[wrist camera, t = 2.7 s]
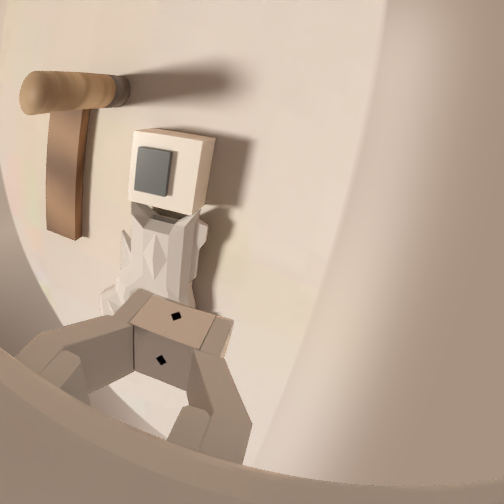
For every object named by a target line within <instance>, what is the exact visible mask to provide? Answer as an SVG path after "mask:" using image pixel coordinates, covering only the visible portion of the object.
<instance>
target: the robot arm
mask: <svg viewBox="0 0 504 504" xmlns="http://www.w3.org/2000/svg"><path fill="white" fill-rule="evenodd" d="M233 324H234V320H232V319H229V318H225V317H222V316H218V315H214V314H210V313H207V312H204V311H201V310H198V309H195V308H192V307H189V306H186V305H184V304H181V303H179V302H176V301H173V300H171V299H168V298H166V297H163V296H160V295H158V294H154V293H152V292H150V291H147V290H144V289H142V288H140V289H137V290H136V291H135V292H134V293H133V294H132V295H131V297H130V298H129V299H128V300H127V301H126V302H125V303H124V304H123V305H122V306H121V307H120V308H119V309H118V310H117V311H116V313H115V314H114V315H113V316H110V315H104V316H101V317H97V318H93V319H90V320H86V321H82V322H78V323H75V324H71V325H67V326H63V327H60V328H56V329H52V330H48V331H44V332H41V333H39V334H38V335H37V336H36V337H35V338H34V339H32V341H30V342H29V343H28V344H27V345H26V346H25V347H24V348H23V349H22V350H21V351H20V352H19V353H18V354H17V355H16V356H15V357H14V358H13V357H12V356H10V355H9V354H8V353H7V352H5V351H4V350H3V349H1V348H0V504H504V477H502V478H497V479H491V480H484V481H477V482H471V483H470V482H469V483H461V484H449V485H434V486H374V485H359V484H347V483H337V482H328V481H321V480H314V479H307V478H301V477H295V476H290V475H285V474H280V473H275V472H270V471H265V470H261V469H257V468H253V467H249V466H245V465H242V463H243V460H244V456H245V452H246V448H247V444H248V440H249V436H250V432H251V427H252V422H251V420H250V418H249V415H248V413H247V411H246V409H245V406H244V404H243V402H242V399H241V397H240V395H239V392H238V390H237V388H236V385H235V383H234V381H233V378H232V376H231V373H230V371H229V369H228V366H227V364H226V361H225V359H224V357H225V353H226V350H227V346H228V343H229V339H230V335H231V332H232V328H233ZM134 371H137V372H139V373H142V374H145V375H147V376H150V377H152V378H155V379H158V380H160V381H163V382H165V383H167V384H170V385H172V386H175V387H177V388H180V389H182V390H185V391H187V392H186V393H187V397H188V402H189V405H188V406H185V407H182V409H181V411H180V413H179V416H178V418H177V420H176V422H175V424H174V426H173V428H172V430H171V432H170V434H169V436H168V438H167V440H164V439H161V438H159V437H156V436H154V435H151V434H149V433H147V432H144V431H142V430H139V429H137V428H135V427H133V426H131V425H128V424H126V423H124V422H122V421H120V420H118V419H116V418H114V417H111V416H110V415H107V414H105V413H103V412H101V411H100V410H98V409H96V408H94V407H92V406H91V404H90V400H89V396H88V394H90V393H92V392H94V391H96V390H98V389H100V388H102V387H104V386H106V385H108V384H110V383H112V382H114V381H116V380H118V379H120V378H122V377H124V376H126V375H128V374H130V373H132V372H134Z"/></svg>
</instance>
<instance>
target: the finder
mask: <svg viewBox="0 0 504 504" xmlns="http://www.w3.org/2000/svg"><path fill="white" fill-rule="evenodd" d="M215 140H216V138H212V137H207V136H201V135H195V134H189V133H183V132H176V131H170V130H163V129H156V128H150V129H143V130H135V131H134V136H133V144H132V153H131V163H130V175H129V188H128V201H132V202H137V203H141V204H145V205H149V206H153V207H158V208H162V209H166V210H170V211H174V212H178V213H182V214H186V215H190V216H192V215H193V214H194V213H195V212H197V211H198V210H199V209H200V208H201V207H202V206H204V205H205V200H206V194H207V188H208V181H209V175H210V169H211V163H212V158H213V152H214V146H215Z"/></svg>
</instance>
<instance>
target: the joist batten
mask: <svg viewBox="0 0 504 504" xmlns="http://www.w3.org/2000/svg"><path fill="white" fill-rule="evenodd" d="M89 113H90V109H81V110H69V111H60V112H51V113H50V121H49V132H48V144H47V163H46V220H47V230H49V231H52V232H54V233H57V234H60V235H62V236H65V237H67V238H70V239H72V240H75V241H76V240H77V239H79V238H80V237H82V186H83V169H84V157H85V146H86V136H87V128H88V120H89Z"/></svg>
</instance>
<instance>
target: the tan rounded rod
mask: <svg viewBox="0 0 504 504" xmlns="http://www.w3.org/2000/svg"><path fill="white" fill-rule="evenodd" d="M129 94H130V84H129V82H128V80H127V79H126V78H125V77H122V76H116V75H106V74H94V73H80V72H60V71H34V72H31V73H30V74H29V75H28V76H27V77H26V78H25V80H24V81H23V84H22V86H21V90H20V105H21V108H22V110H23V112H24V113H25V114H27V115H36V114H43V113H51V112H60V111H69V110H81V109H94V108H112V107H119V106H121V105H123V104H124V103H125V102H126V101H127V99H128V97H129Z"/></svg>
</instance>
